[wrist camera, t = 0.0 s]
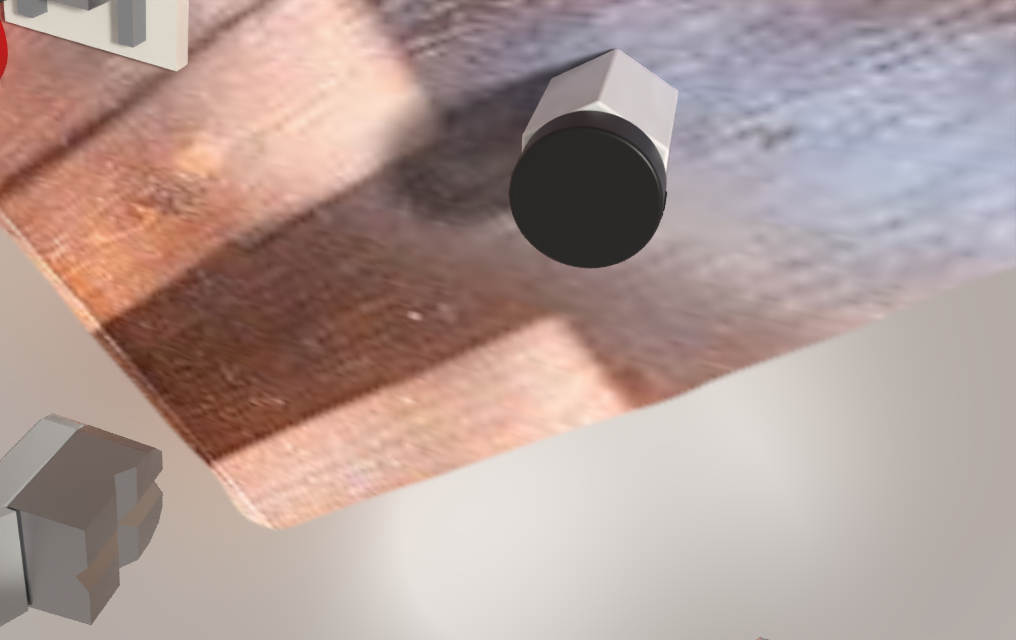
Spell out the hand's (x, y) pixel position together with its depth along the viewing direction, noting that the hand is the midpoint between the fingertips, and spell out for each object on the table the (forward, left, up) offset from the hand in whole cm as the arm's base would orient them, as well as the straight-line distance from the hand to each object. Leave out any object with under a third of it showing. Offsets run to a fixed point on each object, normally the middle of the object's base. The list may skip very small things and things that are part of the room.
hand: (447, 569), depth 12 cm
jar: (+12, 0, -48) cm, 50 cm away
